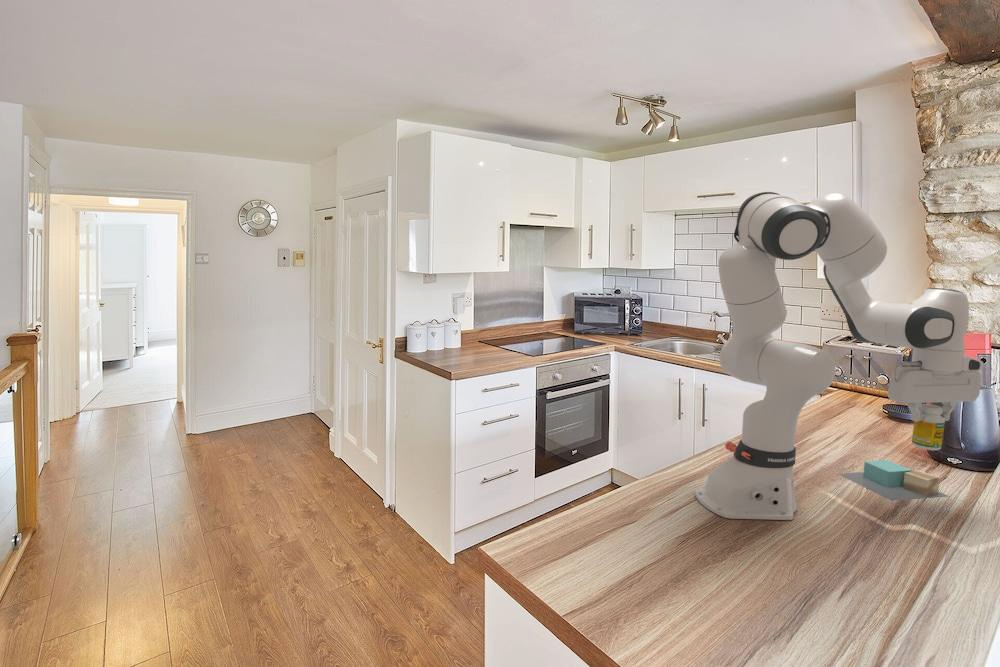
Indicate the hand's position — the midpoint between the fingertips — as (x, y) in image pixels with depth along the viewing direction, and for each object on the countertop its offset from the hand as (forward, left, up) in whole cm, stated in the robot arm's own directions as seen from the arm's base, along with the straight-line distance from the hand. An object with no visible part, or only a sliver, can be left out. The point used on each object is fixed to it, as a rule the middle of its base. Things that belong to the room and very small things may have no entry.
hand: (929, 420), depth 119 cm
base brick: (+4, +13, -20) cm, 24 cm away
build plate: (+3, +10, -21) cm, 24 cm away
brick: (+7, +6, -20) cm, 22 cm away
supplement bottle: (0, 0, -6) cm, 6 cm away
